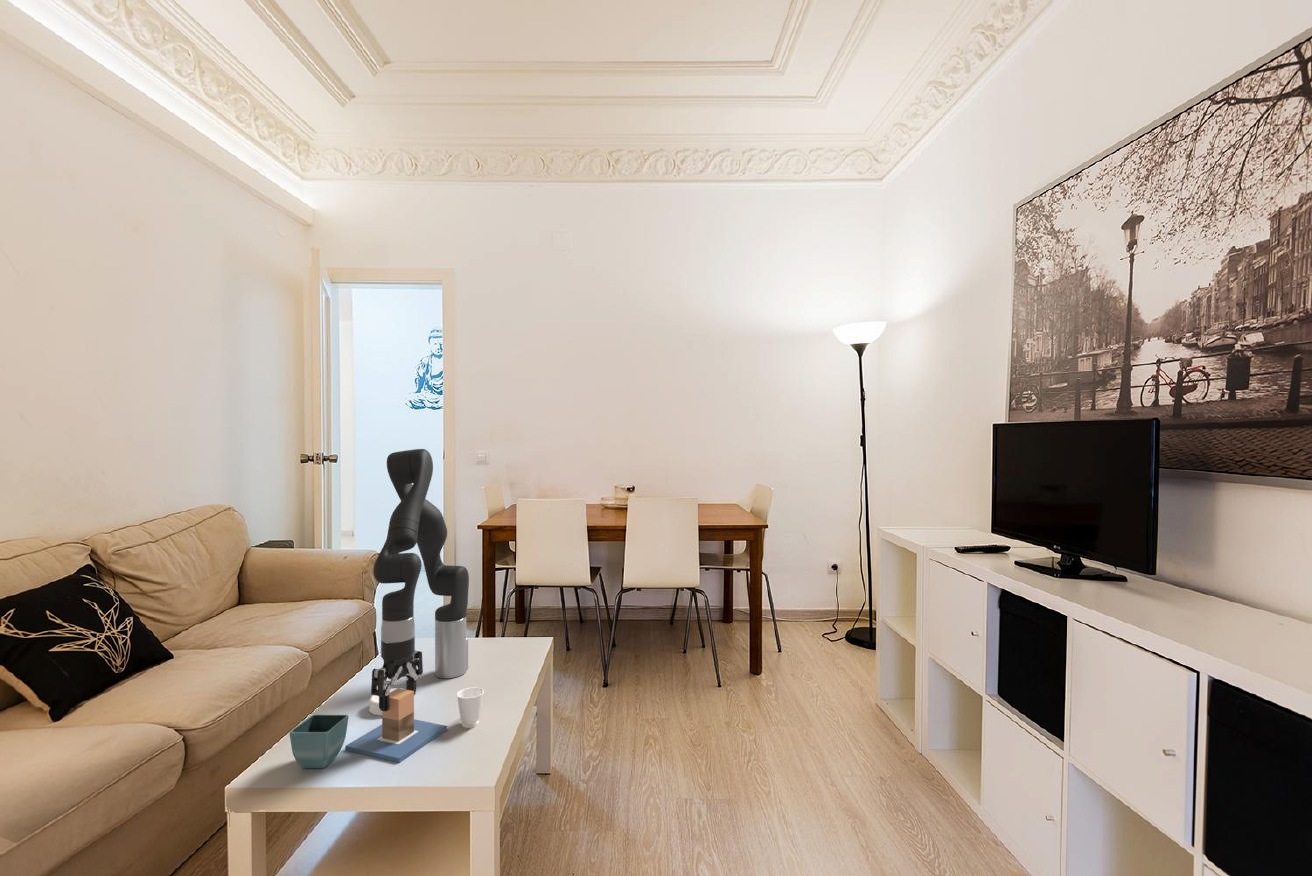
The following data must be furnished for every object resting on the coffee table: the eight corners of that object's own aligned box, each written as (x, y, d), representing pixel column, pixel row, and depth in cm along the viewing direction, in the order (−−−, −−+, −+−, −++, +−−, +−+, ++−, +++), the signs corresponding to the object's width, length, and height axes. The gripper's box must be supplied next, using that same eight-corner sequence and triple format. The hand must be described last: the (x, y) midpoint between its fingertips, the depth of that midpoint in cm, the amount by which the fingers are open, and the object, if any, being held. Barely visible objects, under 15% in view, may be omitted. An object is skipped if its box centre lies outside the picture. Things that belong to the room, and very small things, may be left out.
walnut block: (397, 728, 148) (397, 708, 148) (413, 731, 146) (413, 711, 146) (382, 738, 143) (382, 717, 143) (398, 741, 141) (398, 720, 141)
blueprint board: (396, 719, 155) (396, 715, 155) (447, 730, 149) (447, 725, 149) (345, 750, 140) (345, 745, 140) (399, 762, 134) (399, 758, 134)
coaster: (393, 718, 156) (393, 705, 156) (360, 714, 158) (360, 701, 158) (417, 702, 165) (417, 689, 165) (386, 698, 168) (386, 686, 168)
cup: (451, 730, 149) (451, 698, 149) (465, 712, 159) (465, 682, 159) (480, 730, 149) (480, 698, 149) (491, 712, 159) (491, 682, 159)
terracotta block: (397, 708, 148) (397, 688, 148) (413, 711, 146) (413, 691, 146) (382, 717, 143) (382, 696, 143) (398, 720, 141) (398, 699, 141)
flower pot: (312, 752, 139) (312, 713, 139) (349, 752, 138) (349, 714, 138) (288, 773, 130) (288, 732, 130) (327, 774, 130) (327, 732, 130)
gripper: (407, 625, 152) (407, 688, 152) (362, 643, 139) (362, 713, 139) (431, 628, 150) (431, 693, 150) (387, 647, 136) (387, 718, 136)
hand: (398, 702), depth 144 cm, fingers open, 8 cm apart
